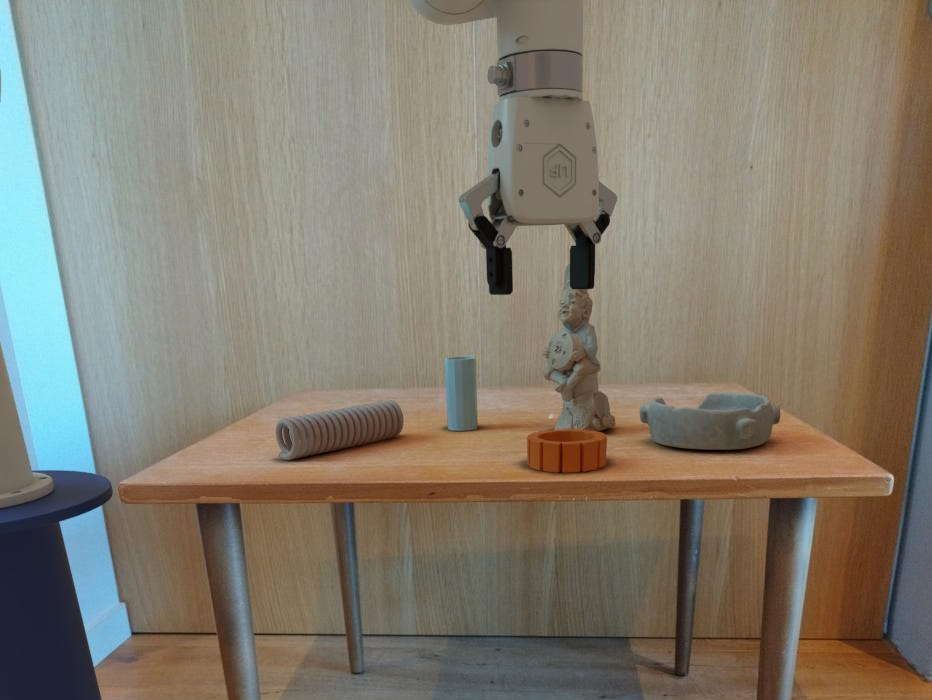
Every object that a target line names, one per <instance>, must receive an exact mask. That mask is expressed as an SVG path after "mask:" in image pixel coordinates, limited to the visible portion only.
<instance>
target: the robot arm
mask: <svg viewBox="0 0 932 700" xmlns="http://www.w3.org/2000/svg"><path fill="white" fill-rule="evenodd" d="M408 2H409V3H410V5H411V6H412V8H413V9H414V10H415V11H416V12H417V13H418V15H420V16H421V17H422V18H424V19H425V20H427V21H428V22H431V23H434V24H437V25H443V26H453V25H455V26H456V25H461V24H467V23H472V22H477V21H483V20H487V19H494V18H496V43H497V44H496V46H497V49H496V50H497V61H496V65H490V66H489V67H488V69H487V81H488V83H489V84H490V85H495V86H496V87H497V96H498V101H496V102H494V104H493V108H492V112H491V117H490V118H491V119H490V126H489V134H488V135H489V136H488V148H487V167H486V172H487V173H486V177H485V178H483V179H482V180H480V181H479V182H478V183H476V184H475V185H473V186H472V187H470V188H469V189H467V190H466V191H465V192H463V193H462V194H460V196H459V198H458V202H459V205H460V207H461V210H462V213H463V214H464V217H465V219H466V220H467V221H468V222H467V225H468V228H469V230H470V231H471V232H472V234H473V235H474V236H475V237H476V239H477V240H478V241H479V245H480V247H481V248H482V249H483V250H485V260H486V261H485V263H486V264H485V265H486V282H487V284H488V292H489V294H490V295H492V296H510V295H511V294H512V293H513V292H514V291H513V290H514V281H513V276H514V275H513V250H512V247H507V243H508V241H509V240H510V238H511V237H512V235H513V233H514V232H515V230H516V228H517V227H526V226H528V227H530V226H534V227H535V226H559V225H564V226H565V228H566V230H567V231H568V233H569V235H570V236H571V239H572V240H573V241H574V243H575V245H570V248H569V264H570V287H571V288H572V289H587V290H593V289H594V288H595V276H596V245H599V244H600V243H601V241H602V235H603V234H604V232H605V231H606V230H607V228H608V227H609V226H610V224H611V216H613V212H614V210H615V207H616V204H617V201H618V196H617V194H616V193H615V192H614V191H613V190H612V189H610V188H608V187H607V186H606V185H605V184H603V183H602V182H601V181H600V178H599V161H598V146H597V137H596V128H595V122H594V115H593V111H592V106H591V102H590V100H585V99H584V100H583V92H584V91H583V86H584V85H583V84H584V81H583V80H584V77H583V76H584V75H583V72H584V67H583V66H584V57H583V56H584V0H408ZM1 70H2V69H0V102H1V99H2V98H1V97H2V71H1ZM485 200H487V210H488V217H489V218H490V220H489V218H488V217H487V216H486V215H485V214H484V210H483V207H482V204H483V202H484V201H485ZM7 367H8V366H7V363H6V359H5V355H4V351H3V348H2V343H1V342H0V509H2V508H8V507H12V506H16V505H21V504H24V503H28V502H31V501H34V500H37V499H40V498H42V497H44V496H46V495H48V494H50V493H51V492H52V491H53V489H54V485H53V480H52V478H51V477H50V476H48V475H46V474H42V473H35V472H32V471H33V469H32V465H31V461H30V457H29V452H28V448H27V445H26V440H25V437H24V433H23V428H22V425H21V421H20V417H19V413H18V409H17V404H16V399H15V396H14V392H13V387H12V384H11V379H10V377H9V376H10V375H9V371H8V368H7Z"/></svg>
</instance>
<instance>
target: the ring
mask: <svg viewBox="0 0 932 700" xmlns="http://www.w3.org/2000/svg"><path fill="white" fill-rule="evenodd" d="M607 446H608V436H607V435H606V434H605V433H604V432H602V431H593V430H591V431H589V430H583V429H573V430H570V429H554V428H553V430H552V429H547V430H540V431H537V432H532V433H530V434H528V435H527V436H526V465H527V466H528V467H529V468H530V469H532V470H536V471H539V472H540V471H543V472H547V473H556V474H557V473H562V474H563V473H564V474H567V473H581V472H589V471H596V470H598V469H601V468H603V467H605V466H606V465H607V450H608V449H607V448H608V447H607Z"/></svg>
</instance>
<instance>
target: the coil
mask: <svg viewBox="0 0 932 700" xmlns="http://www.w3.org/2000/svg"><path fill="white" fill-rule="evenodd" d="M403 428H404V414H403V411H402V407H401V406H400V405H399V403H397V401H394V400H392V399H388V400H387V399H386V400H382V401H376V402H370V403H364V404H361V405H355V406H348V407H343V408H336V409H330V410H325V411H318V412H316V413H309V414H303V415H296V416H290V417H288V418H285V417H284V418H280V419H279V420H277V423H276V425H275V438H276V442H277V445H278V447H279V449H280V450H281V451H279V453H278V455H277V457H278V458H280V460H283V461H291V460H295V459H296V460H297V459H299V458H305V457H311V456H313V455H319V454H325V453H328V452H333V451H338V450H340V449H346V448H351V447H357V446H360V445H365V444H370V443H376V442H378V441H383V440H389V439H395V438H397V437H399V435H400V434H401V432H402V430H403Z"/></svg>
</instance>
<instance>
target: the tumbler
mask: <svg viewBox="0 0 932 700" xmlns="http://www.w3.org/2000/svg"><path fill="white" fill-rule="evenodd" d="M444 377H445V378H444V379H445V399H446V423H447V430H449V431H454V432H467V431H473V430H477V429H478V424H479V423H478V422H479V421H478V419H479V418H478V388H477V385H478V384H477V358H476V357H475V356H463V355H462V356H449V357H445V358H444Z"/></svg>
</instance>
